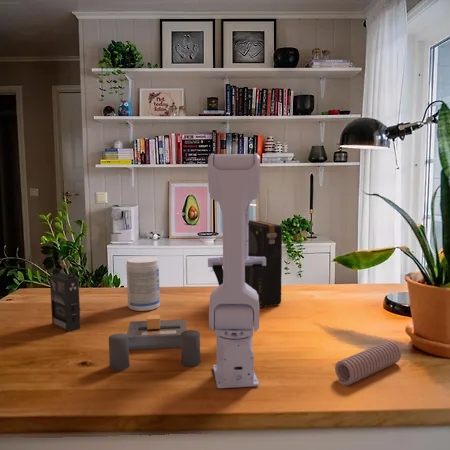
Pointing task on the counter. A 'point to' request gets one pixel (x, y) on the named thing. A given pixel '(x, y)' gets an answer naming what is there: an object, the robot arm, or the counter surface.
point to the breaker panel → (156, 335)
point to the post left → (118, 352)
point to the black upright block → (272, 250)
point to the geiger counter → (65, 300)
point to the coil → (367, 362)
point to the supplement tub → (143, 283)
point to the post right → (190, 348)
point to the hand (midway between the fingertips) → (237, 293)
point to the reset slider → (153, 322)
